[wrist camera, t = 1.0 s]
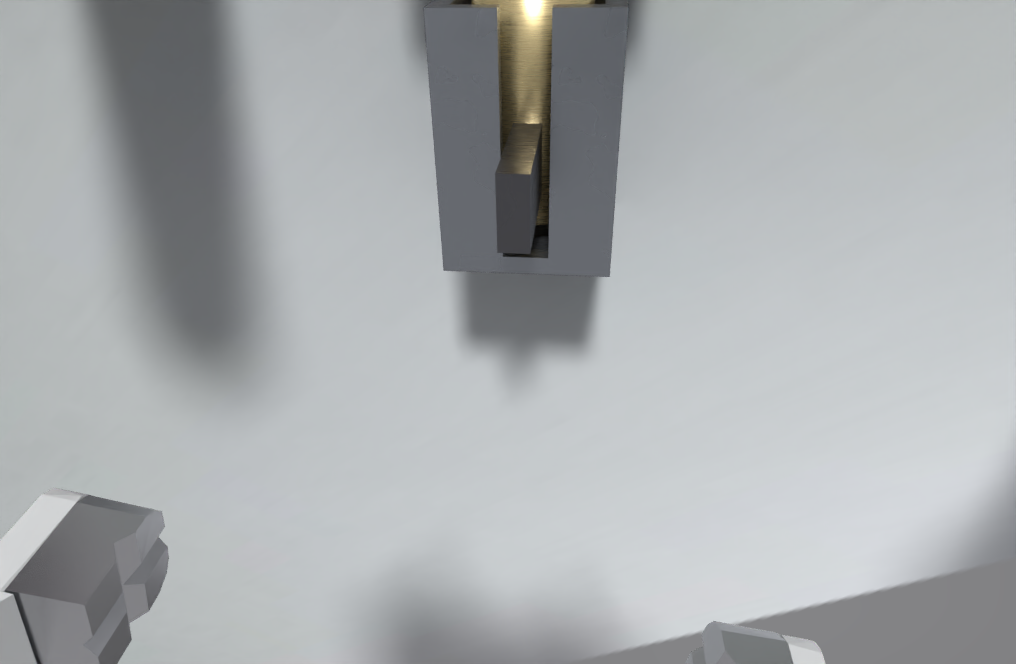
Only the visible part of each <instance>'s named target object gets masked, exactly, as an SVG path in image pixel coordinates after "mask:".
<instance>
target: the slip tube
mask: <svg viewBox="0 0 1016 664" xmlns="http://www.w3.org/2000/svg"><path fill="white" fill-rule="evenodd" d="M471 4H500V45H501V91H502V136H503V153H502V156H501V158H500V161H499V164H498V167H497V169H496V172H495V189H496V223H497V253H516V254H530V253H531V247H532V242H533V237H534V231H535V226H536V225H545V224H549V187H550V125H551V64H552V7H553V5H554V4H595V0H471Z"/></svg>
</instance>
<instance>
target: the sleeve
mask: <svg viewBox="0 0 1016 664" xmlns="http://www.w3.org/2000/svg"><path fill="white" fill-rule="evenodd" d="M423 9H424V22H425V35H426V48H427V61H428V74H429V87H430V100H431V113H432V126H433V139H434V152H435V165H436V178H437V191H438V204H439V216H440V229H441V242H442V255H443V268H444V271H469V272H495V273H521V274H547V275H574V276H600V277H610V264H611V250H612V236H613V222H614V208H615V194H616V180H617V166H618V152H619V138H620V124H621V110H622V96H623V82H624V69H625V55H626V41H627V27H628V13H629V6H628V1H627V0H595V4H554V5H553V7H552V64H551V125H550V187H549V224H545V225H536V226H535V231H534V237H533V242H532V247H531V253H530V254H516V253H497V223H496V189H495V172H496V169H497V167H498V164H499V161H500V158H501V156H502V153H503V136H502V91H501V45H500V4H471V0H434V1H432V2H431V3H429V4H428V5H427V6H425V7H424V8H423Z"/></svg>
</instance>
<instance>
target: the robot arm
mask: <svg viewBox="0 0 1016 664" xmlns="http://www.w3.org/2000/svg"><path fill="white" fill-rule="evenodd" d="M164 527H165V524H164V519H163V514H162V511H159V510H154V509H150V508H145V507H141V506H136V505H132V504H127V503H122V502H118V501H113V500H109V499H104V498H100V497H95V496H91V495H87V494H82V493H78V492H73V491H68V490H63V489H58V488H52V489H50V490H49V491H47V492H45V493H44V494H42V495H40V496H39V497H38V498H37V499H36V500H35V502H34V503H33V504H32V505H31V506H30V507H29V508H28V509H27V511H26V512H25V513H24V514H23V515H22V516H21V517H20V518H19V519H18V521H17V522H16V523H15V524H14V525H13V526H12V527H11V528H10V529H9V531H8V532H7V533H6V534H5V535H4V536H3V537H2V538H1V539H0V664H117V663H118V661H119V660H120V658H121V656H122V655H123V653H124V652H125V650H126V648H127V647H128V645H129V643H130V642H131V640H132V638H131V631H130V624H129V623H130V622H132V621H134V620H135V619H137V618H139V617H140V616H142V615H143V614H145V613H147V612H148V611H149V610H150V608H151V606H152V605H153V603H154V601H155V600H156V598H157V596H158V594H159V593H160V590H161V587H162V584H163V582H164V579H165V576H166V573H167V568H168V560H169V555H168V547H167V546H166V545H165V543H164V542H163V541H162V540H161V539H160V538H159V535H160V533H161V532H162V530H163V529H164ZM702 641H703V647H701V648H698V649H696V650H694V651H692V652H691V653H690V655H689V657H688V659H687V661H686V663H685V664H825V661H824V658H823V655H822V651H821V649H820V648H819V646H818V645H817V644H816V642H814V641H811V640H807V639H801V638H796V637H791V636H784V635H779V634H777V633H775V632H770V631H764V630H759V629H754V628H748V627H743V626H738V625H732V624H727V623H721V622H716V621H713V622H711V623H709V624H708V625H707V626H706V628H705V630H704V631H703V633H702Z"/></svg>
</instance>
